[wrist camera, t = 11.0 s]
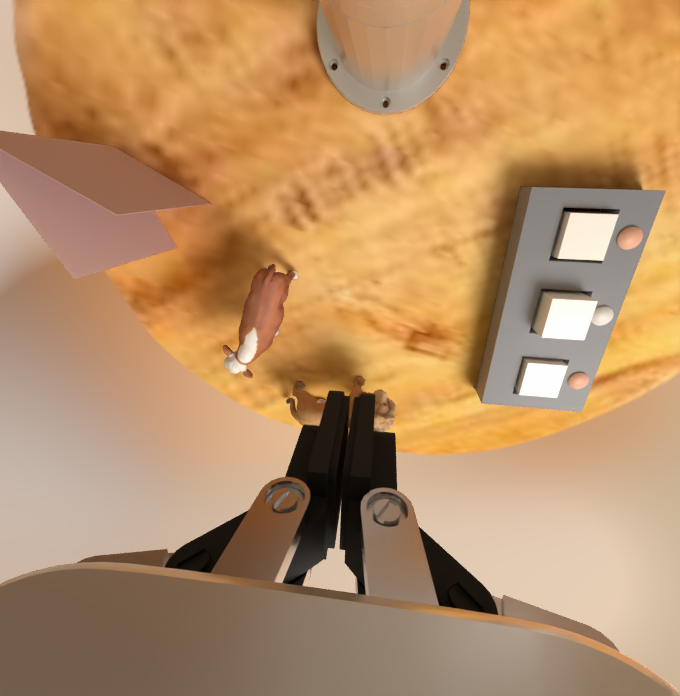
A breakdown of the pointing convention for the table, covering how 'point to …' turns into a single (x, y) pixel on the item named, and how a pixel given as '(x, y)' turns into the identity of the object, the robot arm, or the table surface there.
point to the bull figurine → (260, 318)
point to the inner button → (583, 235)
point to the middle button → (563, 314)
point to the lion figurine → (384, 407)
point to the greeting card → (90, 200)
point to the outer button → (540, 376)
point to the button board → (562, 274)
